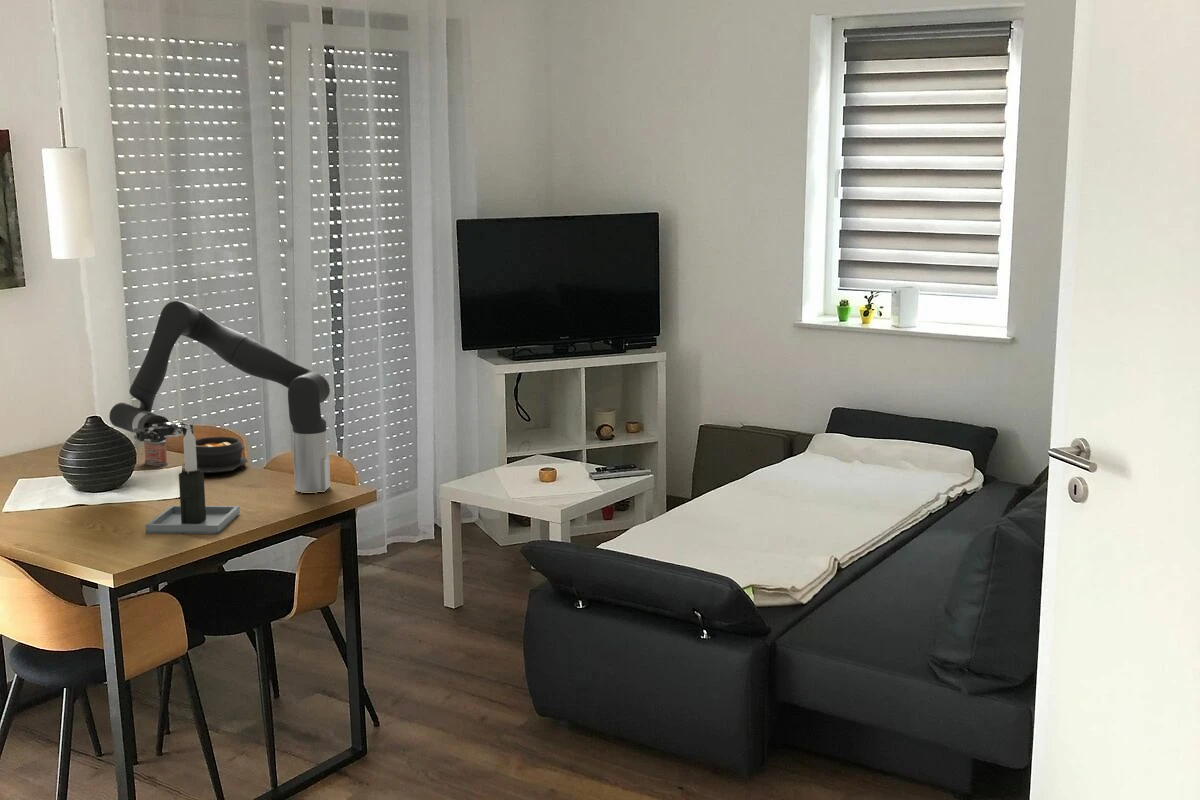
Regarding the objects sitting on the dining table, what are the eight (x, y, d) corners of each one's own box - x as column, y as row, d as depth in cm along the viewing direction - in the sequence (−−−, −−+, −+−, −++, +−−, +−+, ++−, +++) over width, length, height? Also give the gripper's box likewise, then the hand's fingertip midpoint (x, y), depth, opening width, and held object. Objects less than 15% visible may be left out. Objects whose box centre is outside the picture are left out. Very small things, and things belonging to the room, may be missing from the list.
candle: (207, 518, 308) (202, 423, 304) (199, 524, 303) (193, 427, 299) (188, 517, 309) (183, 422, 304) (179, 523, 304) (174, 427, 299)
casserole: (246, 476, 355) (245, 449, 353) (180, 480, 350) (179, 452, 348) (248, 458, 378) (247, 431, 377) (186, 460, 374) (185, 434, 372)
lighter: (170, 464, 369) (168, 432, 367) (162, 466, 366) (160, 434, 364) (150, 461, 372) (148, 430, 370) (142, 463, 369) (140, 432, 367)
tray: (239, 514, 315) (239, 506, 314) (218, 534, 297) (218, 525, 297) (171, 513, 315) (170, 505, 314) (145, 533, 297) (145, 524, 297)
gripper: (123, 416, 319) (145, 425, 307) (176, 409, 328) (199, 417, 316) (125, 443, 320) (147, 453, 308) (178, 436, 329) (201, 445, 317)
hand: (173, 435), depth 312 cm, fingers open, 8 cm apart
